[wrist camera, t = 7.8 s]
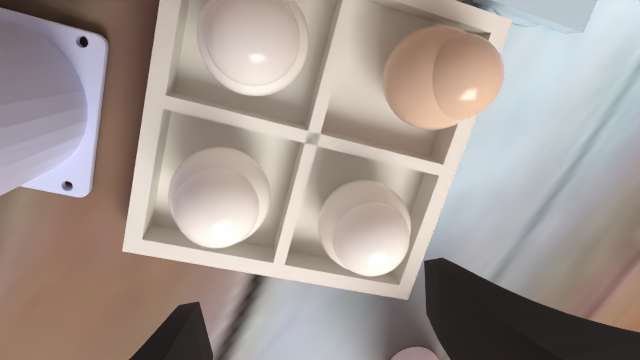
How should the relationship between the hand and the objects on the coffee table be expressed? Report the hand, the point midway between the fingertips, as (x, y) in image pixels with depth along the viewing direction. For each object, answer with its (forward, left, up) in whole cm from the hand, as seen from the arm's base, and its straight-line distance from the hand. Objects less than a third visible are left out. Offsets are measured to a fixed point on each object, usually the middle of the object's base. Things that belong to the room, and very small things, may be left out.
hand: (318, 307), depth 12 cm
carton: (0, +4, -10) cm, 11 cm away
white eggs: (0, +4, -10) cm, 11 cm away
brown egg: (+3, +7, -9) cm, 12 cm away
